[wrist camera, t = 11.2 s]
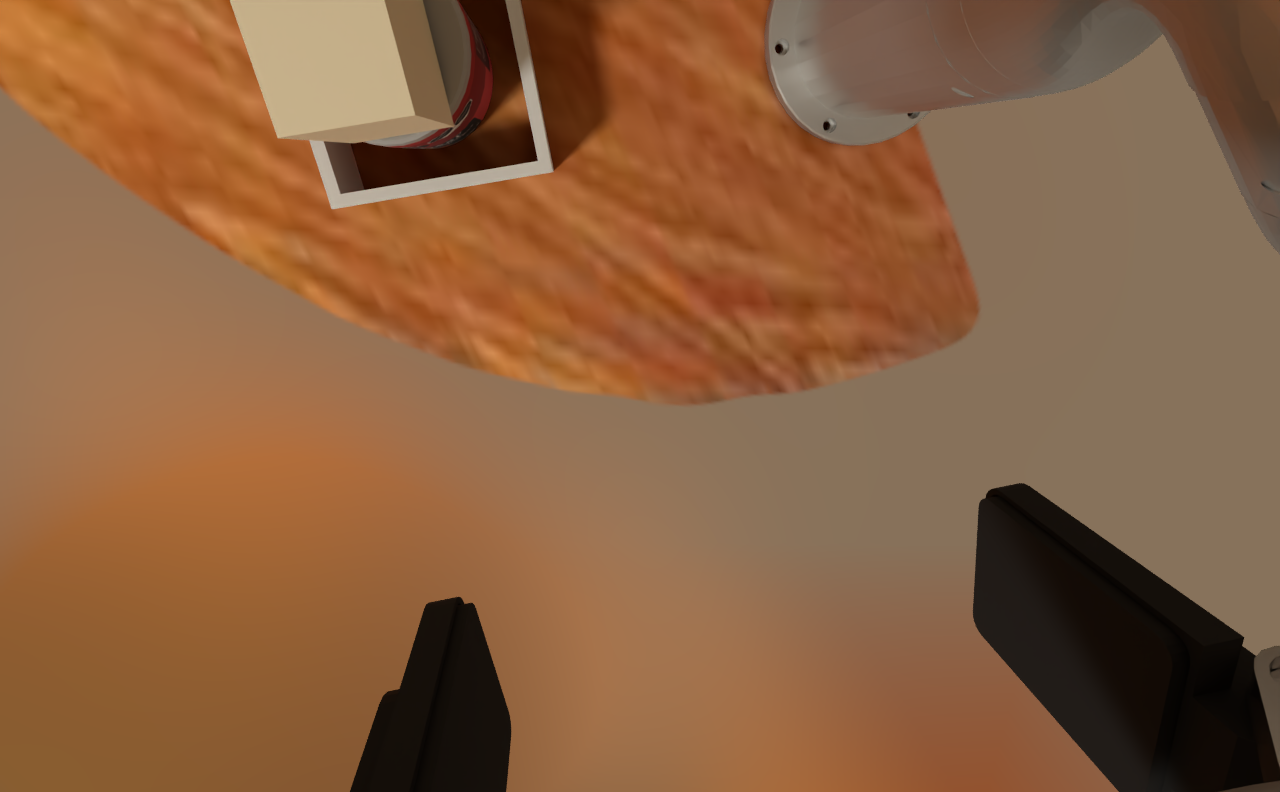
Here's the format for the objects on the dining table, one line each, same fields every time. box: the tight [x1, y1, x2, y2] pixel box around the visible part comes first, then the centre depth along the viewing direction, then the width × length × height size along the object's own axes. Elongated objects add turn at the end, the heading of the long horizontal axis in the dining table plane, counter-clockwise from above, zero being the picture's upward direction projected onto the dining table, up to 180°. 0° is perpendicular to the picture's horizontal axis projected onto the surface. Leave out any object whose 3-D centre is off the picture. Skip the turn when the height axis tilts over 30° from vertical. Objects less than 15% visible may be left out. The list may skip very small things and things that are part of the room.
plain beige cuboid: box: [230, 0, 454, 143], centre depth 23 cm, size 4×7×8 cm, turn 9°
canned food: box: [365, 0, 493, 149], centre depth 32 cm, size 8×8×11 cm
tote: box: [309, 0, 554, 209], centre depth 35 cm, size 12×12×4 cm
